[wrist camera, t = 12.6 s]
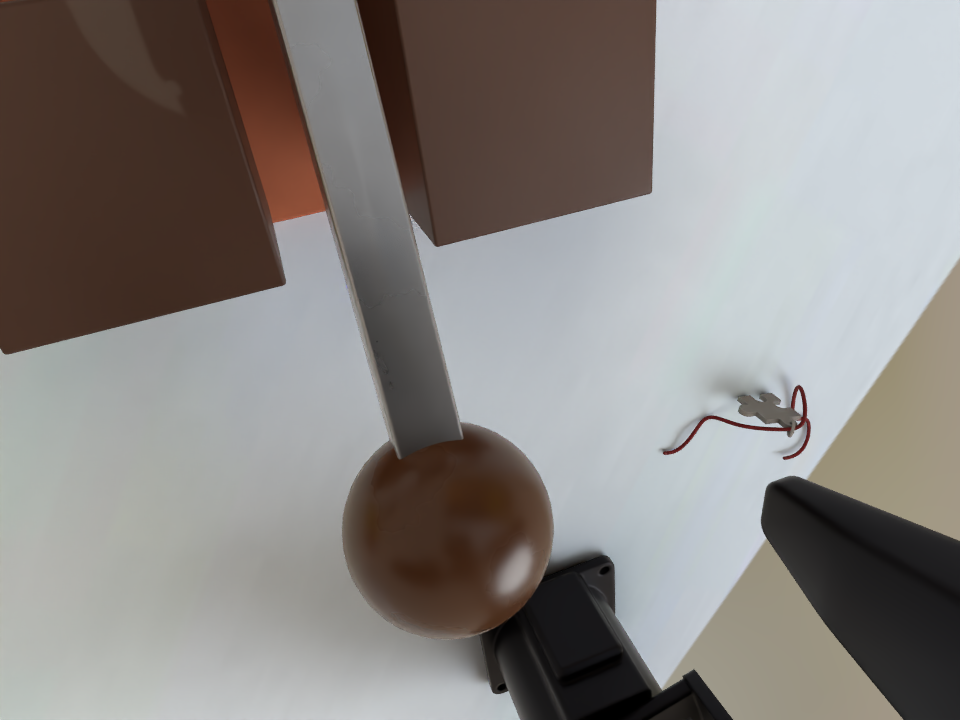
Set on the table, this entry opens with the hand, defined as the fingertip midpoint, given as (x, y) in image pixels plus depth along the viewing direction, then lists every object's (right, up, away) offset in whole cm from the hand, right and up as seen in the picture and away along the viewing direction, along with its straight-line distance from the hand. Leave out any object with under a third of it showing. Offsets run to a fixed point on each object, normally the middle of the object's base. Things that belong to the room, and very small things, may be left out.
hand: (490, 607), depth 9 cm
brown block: (-5, +10, +7) cm, 13 cm away
